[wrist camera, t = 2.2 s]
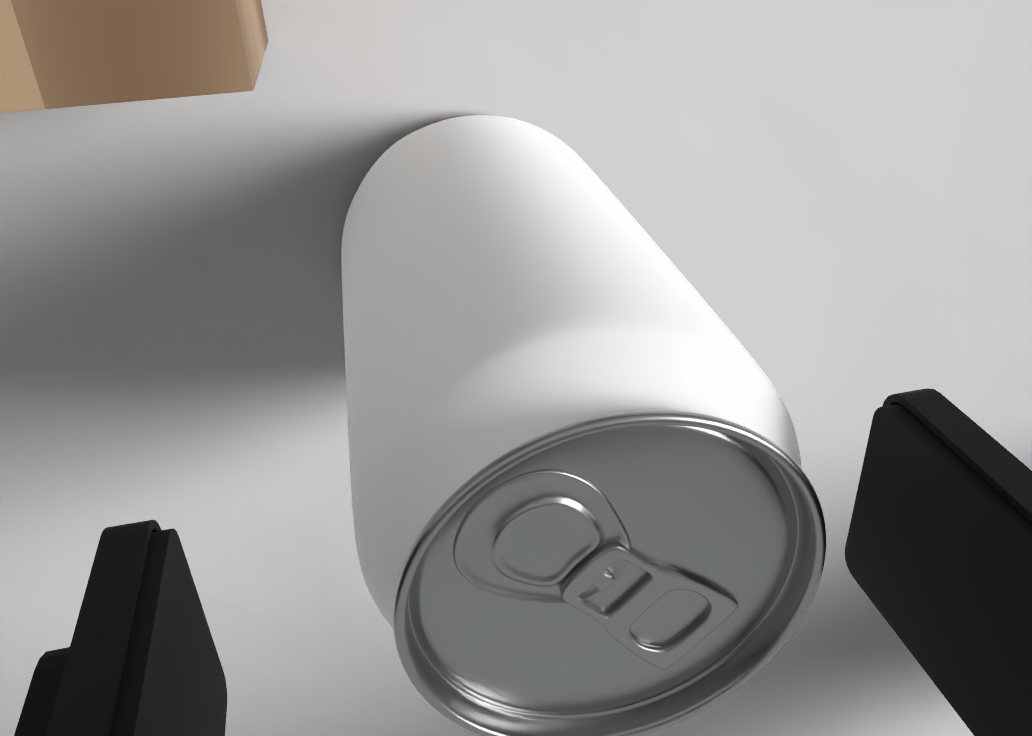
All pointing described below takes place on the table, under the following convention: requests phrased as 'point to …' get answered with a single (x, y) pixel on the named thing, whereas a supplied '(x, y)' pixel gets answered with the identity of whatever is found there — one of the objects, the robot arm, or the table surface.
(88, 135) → the table surface
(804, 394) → the table surface
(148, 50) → the wooden rectangular frame
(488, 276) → the can
